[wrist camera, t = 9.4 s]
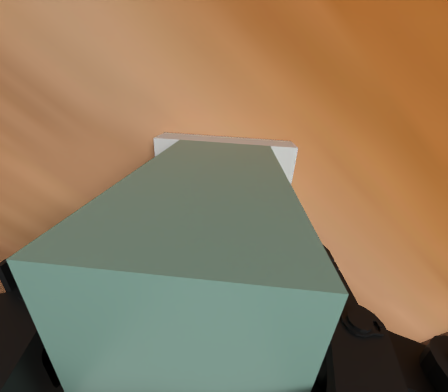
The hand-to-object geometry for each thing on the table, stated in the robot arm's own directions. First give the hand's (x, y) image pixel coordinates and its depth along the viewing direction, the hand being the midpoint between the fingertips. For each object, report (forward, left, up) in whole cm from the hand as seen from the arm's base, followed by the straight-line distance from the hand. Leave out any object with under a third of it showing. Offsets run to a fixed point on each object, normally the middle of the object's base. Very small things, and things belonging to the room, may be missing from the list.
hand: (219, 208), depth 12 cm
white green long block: (0, -10, -4) cm, 10 cm away
